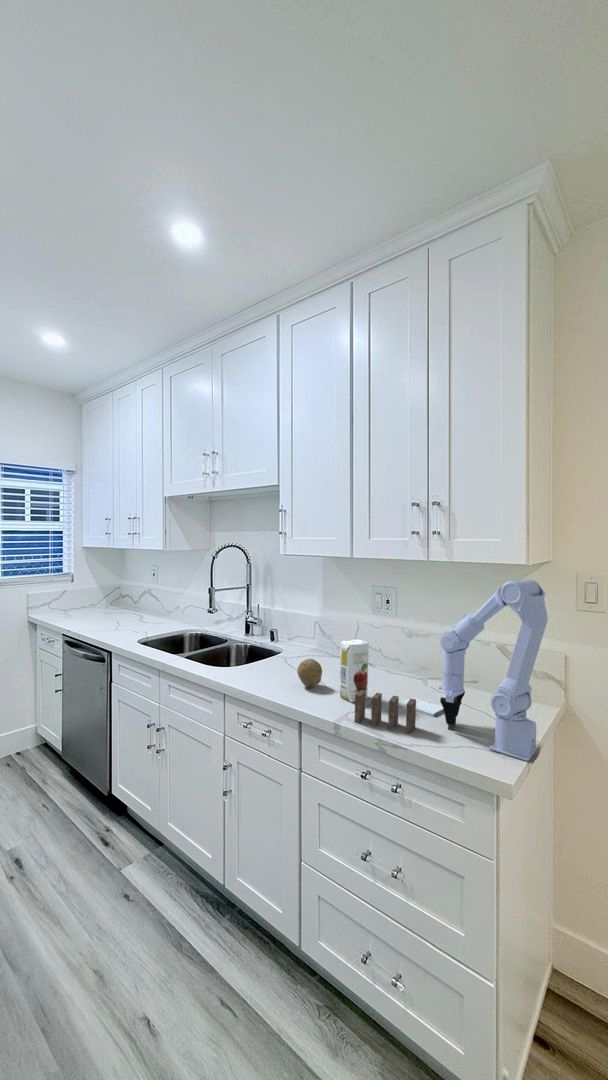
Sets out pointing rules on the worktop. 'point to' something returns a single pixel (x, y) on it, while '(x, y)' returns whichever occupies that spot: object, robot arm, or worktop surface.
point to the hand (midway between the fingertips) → (452, 719)
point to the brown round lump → (310, 672)
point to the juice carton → (353, 668)
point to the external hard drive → (424, 707)
